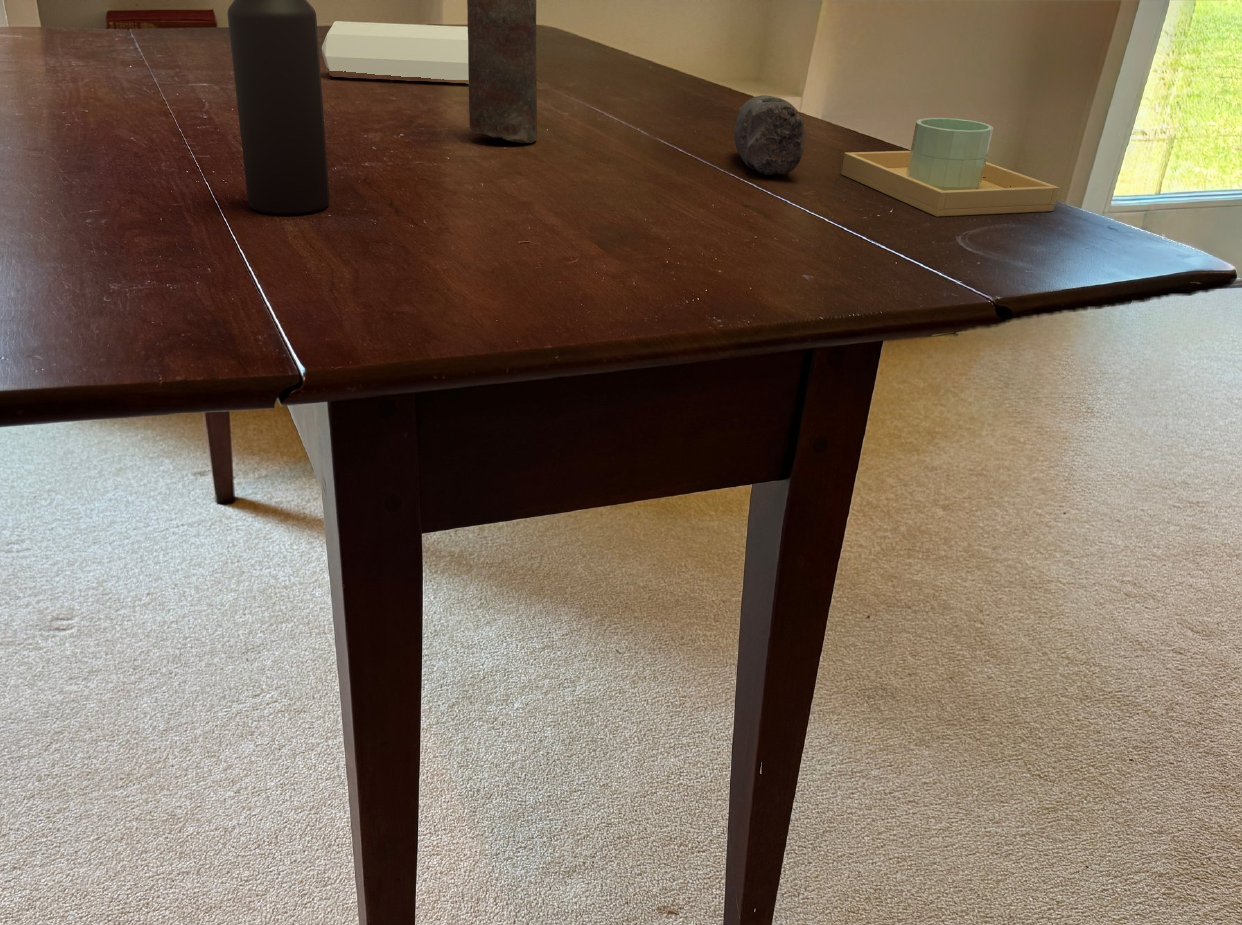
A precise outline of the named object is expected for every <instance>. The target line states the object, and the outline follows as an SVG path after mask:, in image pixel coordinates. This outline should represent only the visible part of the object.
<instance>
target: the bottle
mask: <svg viewBox="0 0 1242 925" xmlns="http://www.w3.org/2000/svg"><path fill="white" fill-rule="evenodd" d="M316 12H317V11H316V10H315V9H314V7H313V6H312V5H311V3H310V2H309V1H308V0H233V1H232V2H231V4H230V5H229V7H228V9H227V22H228V23H227V24H228V30H229V31H228V32H229V40H230V50H231V58H232V59H231V61H232V69H233V77H234V86H235V95H236V96H235V97H236V105H237V115H238V123H239V132H240V142H241V150H242V159H243V160H242V161H243V170H244V178H245V186H246V187H245V188H246V196H247V202H248V205H249V207H250V208H251V209H252V210H254V211H256V212H259V213H263V214H268V215H276V216H295V215H305V214H311V213H315V212H316V213H317V212H319V211H322V210H324V209H326V208H327V207H328V206H329V204H330V202H331V201H330V200H331V199H330V198H331V197H330V188H329V187H330V186H329V185H330V184H329V173H328V172H329V171H328V159H327V156H328V155H327V144H326V131H325V117H324V105H323V89H322V88H323V87H322V76H321V73H322V72H321V61H320V48H319V34H318V32H319V31H318V20H317V13H316Z"/></svg>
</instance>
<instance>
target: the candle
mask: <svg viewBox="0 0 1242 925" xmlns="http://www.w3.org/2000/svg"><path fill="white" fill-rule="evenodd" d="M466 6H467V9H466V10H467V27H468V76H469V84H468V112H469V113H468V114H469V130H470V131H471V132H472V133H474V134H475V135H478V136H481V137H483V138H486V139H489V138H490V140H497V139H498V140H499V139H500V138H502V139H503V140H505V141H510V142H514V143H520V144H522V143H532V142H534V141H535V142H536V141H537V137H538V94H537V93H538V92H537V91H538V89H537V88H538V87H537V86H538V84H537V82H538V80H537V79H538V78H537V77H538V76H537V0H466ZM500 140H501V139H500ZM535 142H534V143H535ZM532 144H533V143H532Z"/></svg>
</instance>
